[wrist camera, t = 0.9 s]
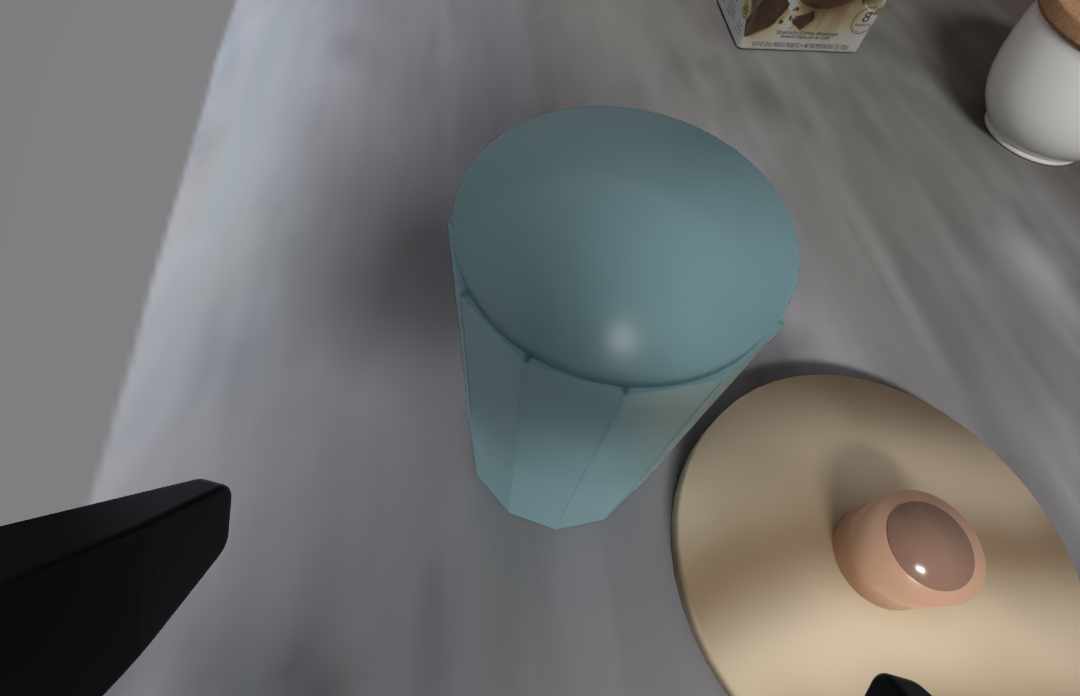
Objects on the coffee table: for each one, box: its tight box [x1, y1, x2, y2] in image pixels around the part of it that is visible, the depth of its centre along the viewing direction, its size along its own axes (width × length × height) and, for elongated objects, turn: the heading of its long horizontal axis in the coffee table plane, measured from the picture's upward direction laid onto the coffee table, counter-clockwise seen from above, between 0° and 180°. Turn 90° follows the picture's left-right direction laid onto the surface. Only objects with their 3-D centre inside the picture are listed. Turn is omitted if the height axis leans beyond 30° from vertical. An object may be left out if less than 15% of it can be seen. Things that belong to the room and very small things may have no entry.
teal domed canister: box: [447, 106, 799, 530], centre depth 17 cm, size 7×7×13 cm
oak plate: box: [671, 374, 1080, 696], centre depth 20 cm, size 15×15×1 cm
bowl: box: [833, 490, 986, 610], centre depth 18 cm, size 4×4×3 cm
